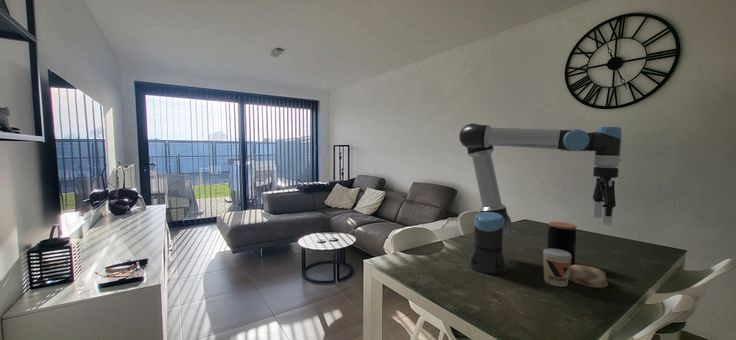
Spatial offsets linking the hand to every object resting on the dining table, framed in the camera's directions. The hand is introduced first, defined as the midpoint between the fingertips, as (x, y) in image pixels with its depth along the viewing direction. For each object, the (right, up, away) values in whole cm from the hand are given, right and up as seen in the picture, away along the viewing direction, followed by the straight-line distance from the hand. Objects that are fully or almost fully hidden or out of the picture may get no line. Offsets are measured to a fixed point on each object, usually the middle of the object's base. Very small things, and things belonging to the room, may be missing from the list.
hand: (601, 220), depth 114 cm
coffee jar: (-4, -23, +19) cm, 30 cm away
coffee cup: (-19, -24, -1) cm, 30 cm away
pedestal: (-5, -24, +1) cm, 24 cm away
